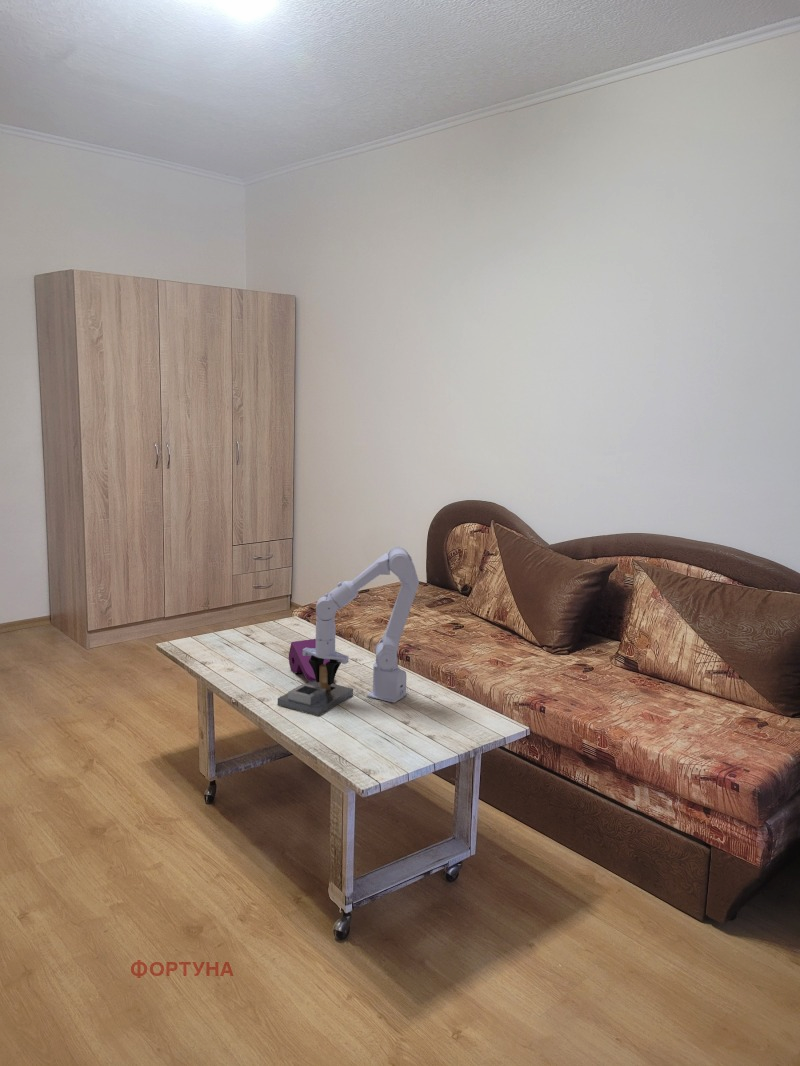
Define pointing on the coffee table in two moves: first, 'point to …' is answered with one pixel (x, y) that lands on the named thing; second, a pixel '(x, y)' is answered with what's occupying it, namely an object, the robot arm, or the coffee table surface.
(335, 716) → the coffee table surface
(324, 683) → the pin
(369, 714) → the coffee table surface
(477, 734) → the coffee table surface
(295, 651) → the mounting bracket
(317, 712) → the mount plate
